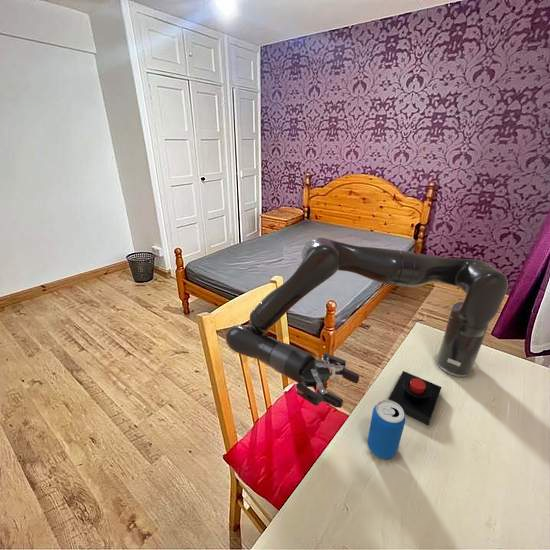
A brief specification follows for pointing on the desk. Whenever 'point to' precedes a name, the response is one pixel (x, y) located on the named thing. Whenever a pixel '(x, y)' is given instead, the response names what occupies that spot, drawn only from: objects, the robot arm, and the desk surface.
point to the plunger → (417, 386)
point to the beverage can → (386, 429)
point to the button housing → (415, 398)
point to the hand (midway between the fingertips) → (350, 391)
